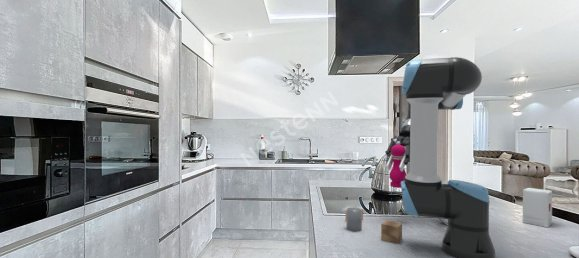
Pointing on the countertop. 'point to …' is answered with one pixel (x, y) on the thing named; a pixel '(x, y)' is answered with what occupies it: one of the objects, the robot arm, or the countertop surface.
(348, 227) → the charcoal canister
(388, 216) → the countertop surface
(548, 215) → the supplement box
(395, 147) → the pepper mill
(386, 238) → the walnut block
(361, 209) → the terracotta brick
